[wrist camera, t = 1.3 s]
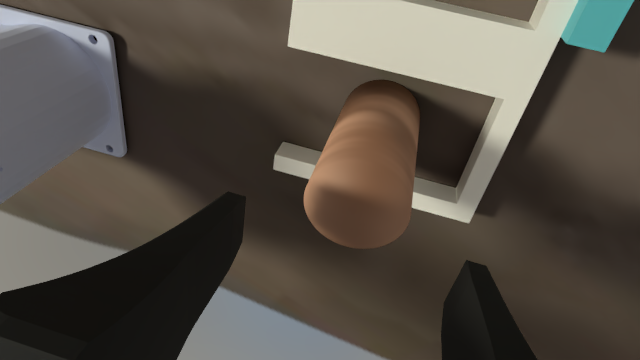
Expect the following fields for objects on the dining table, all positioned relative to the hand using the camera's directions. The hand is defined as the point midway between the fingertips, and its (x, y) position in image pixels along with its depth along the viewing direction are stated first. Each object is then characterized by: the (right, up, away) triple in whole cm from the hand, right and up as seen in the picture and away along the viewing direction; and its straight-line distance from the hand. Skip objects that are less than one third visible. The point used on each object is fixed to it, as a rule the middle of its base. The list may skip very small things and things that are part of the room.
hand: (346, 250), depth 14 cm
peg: (+2, +6, +9) cm, 10 cm away
